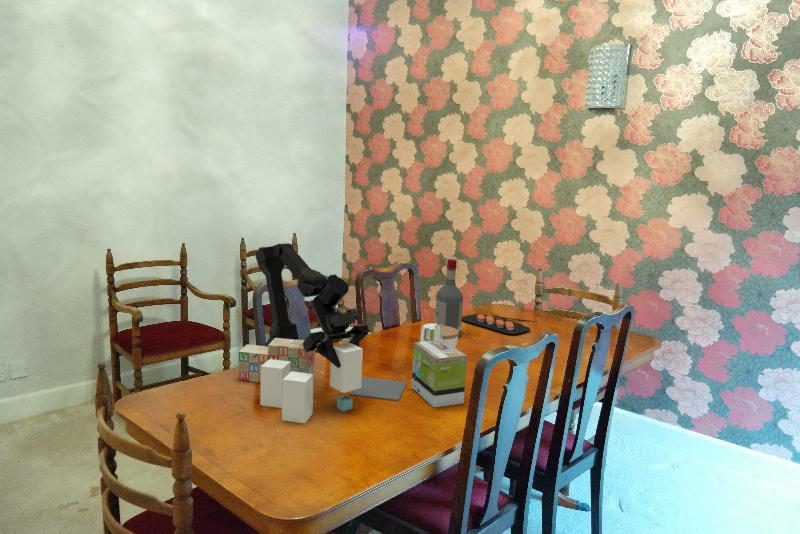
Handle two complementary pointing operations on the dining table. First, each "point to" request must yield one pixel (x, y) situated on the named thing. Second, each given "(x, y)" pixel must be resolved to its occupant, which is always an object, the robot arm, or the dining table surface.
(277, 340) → the stack of blocks
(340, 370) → the white rectangular prism
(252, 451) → the dining table surface
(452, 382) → the tea box
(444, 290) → the liquor
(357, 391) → the charcoal mat
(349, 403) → the letter cube
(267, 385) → the long cream brick
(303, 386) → the tall white pillar block
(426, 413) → the dining table surface
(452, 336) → the lidded bowl
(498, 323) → the sushi plate
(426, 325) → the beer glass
